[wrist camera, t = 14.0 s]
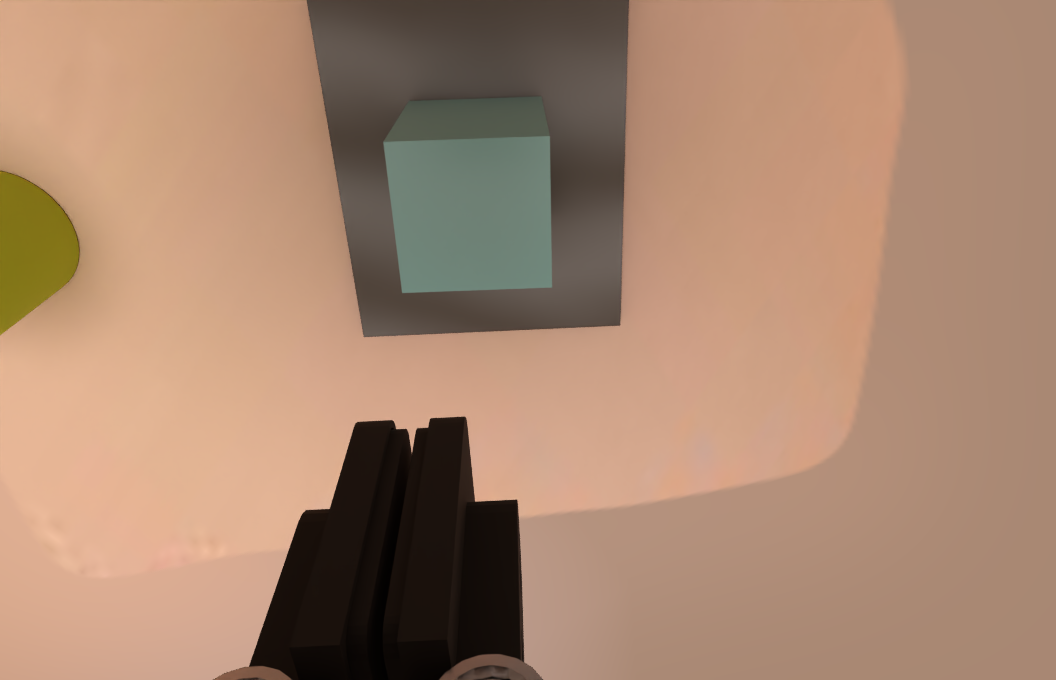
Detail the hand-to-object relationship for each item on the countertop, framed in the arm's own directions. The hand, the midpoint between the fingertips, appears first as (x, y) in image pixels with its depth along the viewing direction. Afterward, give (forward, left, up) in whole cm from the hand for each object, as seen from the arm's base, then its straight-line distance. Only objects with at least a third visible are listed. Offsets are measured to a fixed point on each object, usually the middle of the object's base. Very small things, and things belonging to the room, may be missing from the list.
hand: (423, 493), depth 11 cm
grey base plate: (0, 0, -22) cm, 22 cm away
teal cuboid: (0, 0, -21) cm, 21 cm away
